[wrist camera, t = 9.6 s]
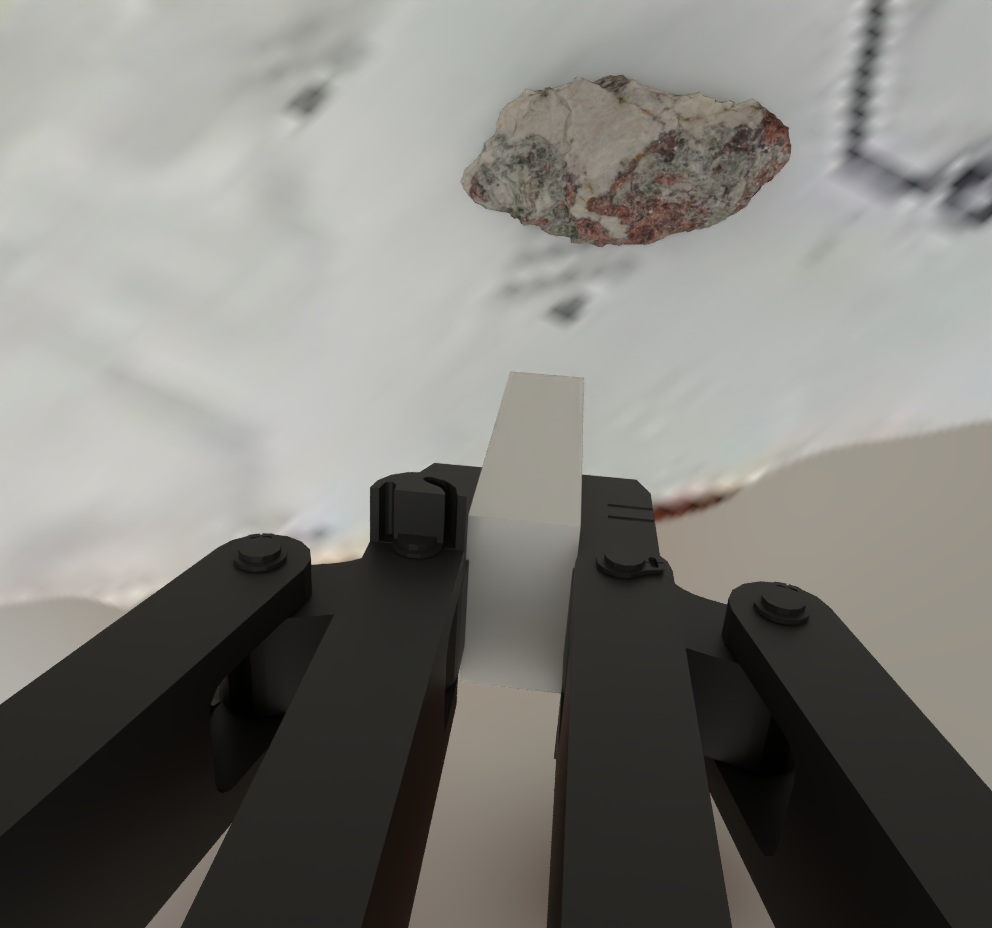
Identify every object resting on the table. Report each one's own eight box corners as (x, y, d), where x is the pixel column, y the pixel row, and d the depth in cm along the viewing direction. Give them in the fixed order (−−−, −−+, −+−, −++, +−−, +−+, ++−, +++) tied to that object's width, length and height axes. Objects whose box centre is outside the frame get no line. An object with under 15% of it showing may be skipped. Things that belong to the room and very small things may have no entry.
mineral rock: (463, 214, 45) (453, 226, 41) (490, 49, 42) (481, 44, 38) (738, 270, 45) (755, 287, 41) (786, 108, 42) (809, 110, 38)
